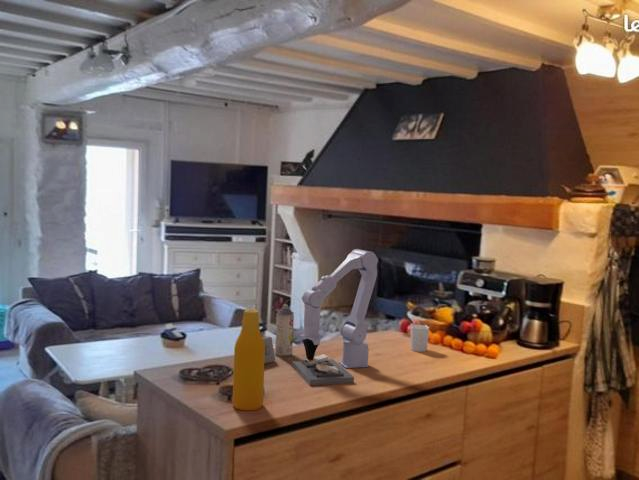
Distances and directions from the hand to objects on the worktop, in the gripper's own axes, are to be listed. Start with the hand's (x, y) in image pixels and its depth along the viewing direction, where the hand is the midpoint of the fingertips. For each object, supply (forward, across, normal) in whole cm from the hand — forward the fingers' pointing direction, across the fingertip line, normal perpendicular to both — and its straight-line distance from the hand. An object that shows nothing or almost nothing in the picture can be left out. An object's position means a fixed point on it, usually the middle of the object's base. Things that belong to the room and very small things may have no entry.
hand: (310, 359), depth 218 cm
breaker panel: (+4, +6, +3) cm, 7 cm away
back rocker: (+1, 0, +3) cm, 3 cm away
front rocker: (+1, +11, +3) cm, 11 cm away
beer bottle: (+4, +30, -29) cm, 42 cm away
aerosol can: (+4, -22, -4) cm, 22 cm away
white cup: (+4, -20, +55) cm, 58 cm away
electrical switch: (+4, -12, -15) cm, 20 cm away
